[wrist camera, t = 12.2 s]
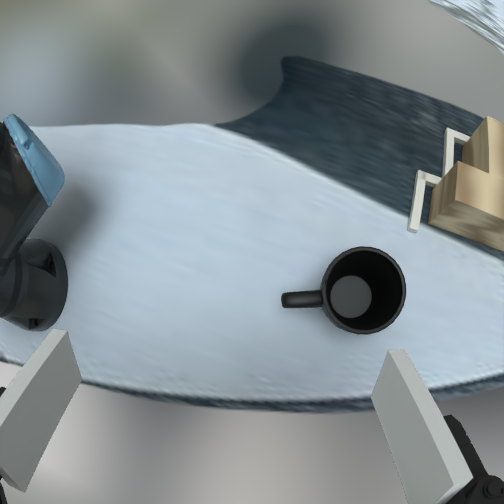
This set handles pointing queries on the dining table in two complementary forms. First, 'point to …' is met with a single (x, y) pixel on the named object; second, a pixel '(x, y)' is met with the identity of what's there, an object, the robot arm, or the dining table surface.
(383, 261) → the mug
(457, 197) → the t block
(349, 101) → the dining table surface
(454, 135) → the t outline
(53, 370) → the robot arm
